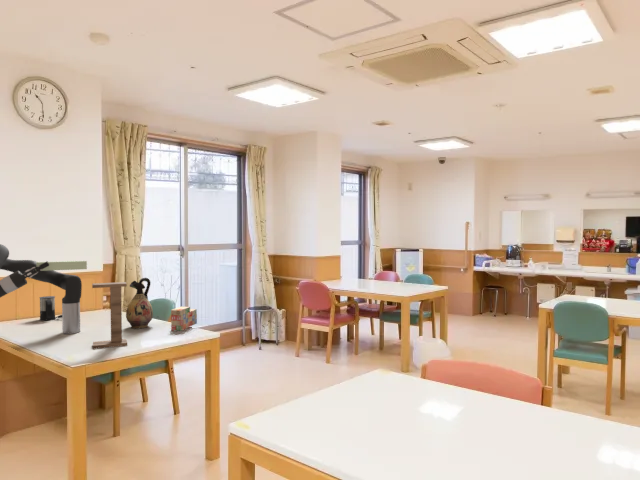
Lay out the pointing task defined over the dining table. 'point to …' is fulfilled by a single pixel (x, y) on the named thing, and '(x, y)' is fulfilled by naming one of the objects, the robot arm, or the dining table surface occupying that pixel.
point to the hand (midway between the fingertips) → (48, 263)
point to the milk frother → (47, 308)
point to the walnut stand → (113, 316)
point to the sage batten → (64, 265)
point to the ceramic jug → (139, 306)
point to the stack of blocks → (183, 318)
